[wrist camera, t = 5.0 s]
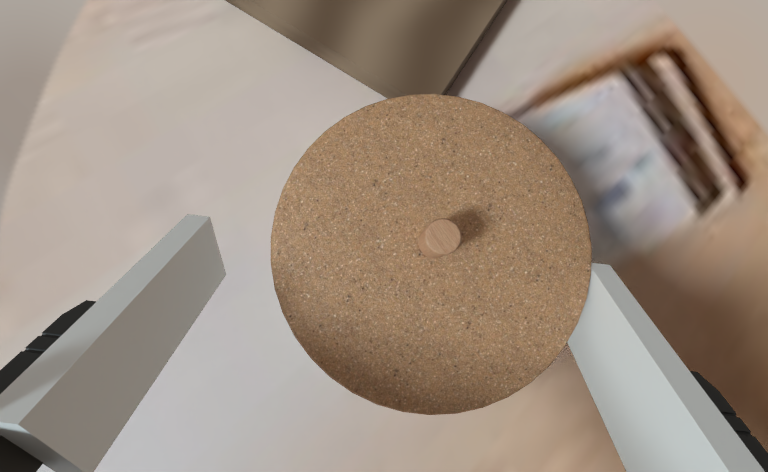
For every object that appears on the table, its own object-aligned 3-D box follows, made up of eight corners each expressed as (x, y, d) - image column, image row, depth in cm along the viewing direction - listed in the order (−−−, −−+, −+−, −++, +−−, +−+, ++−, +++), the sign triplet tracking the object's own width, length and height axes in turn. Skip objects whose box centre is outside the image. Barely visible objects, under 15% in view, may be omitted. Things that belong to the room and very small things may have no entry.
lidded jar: (432, 134, 19) (483, -3, 10) (540, 283, 18) (715, 289, 9) (279, 232, 18) (175, 184, 9) (384, 396, 17) (392, 538, 8)
